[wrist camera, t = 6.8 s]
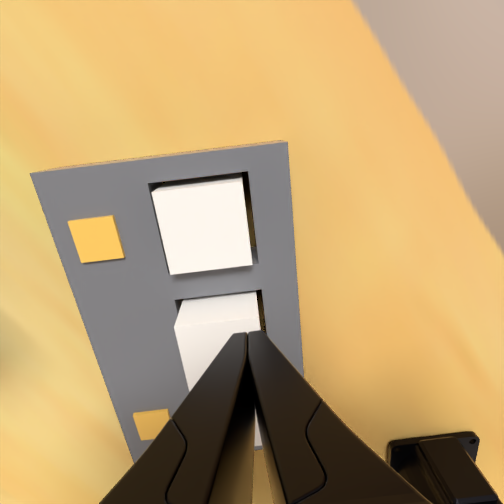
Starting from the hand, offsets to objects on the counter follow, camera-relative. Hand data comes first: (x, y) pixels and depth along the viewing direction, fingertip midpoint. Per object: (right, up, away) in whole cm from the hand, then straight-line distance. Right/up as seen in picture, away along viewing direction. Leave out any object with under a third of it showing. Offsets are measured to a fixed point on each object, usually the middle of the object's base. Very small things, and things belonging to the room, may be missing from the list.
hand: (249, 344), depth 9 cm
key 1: (-2, +5, +8) cm, 9 cm away
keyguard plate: (-3, -1, +10) cm, 10 cm away
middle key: (-1, -1, +9) cm, 9 cm away
